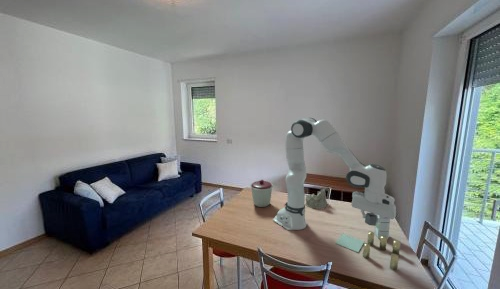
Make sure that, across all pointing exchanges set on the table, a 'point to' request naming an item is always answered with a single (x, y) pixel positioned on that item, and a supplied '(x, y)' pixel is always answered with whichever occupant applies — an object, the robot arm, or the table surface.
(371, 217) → the hex nut
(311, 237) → the table surface
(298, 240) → the table surface
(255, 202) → the canister
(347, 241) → the mat
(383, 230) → the syrup box
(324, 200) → the jagged green rock
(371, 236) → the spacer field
